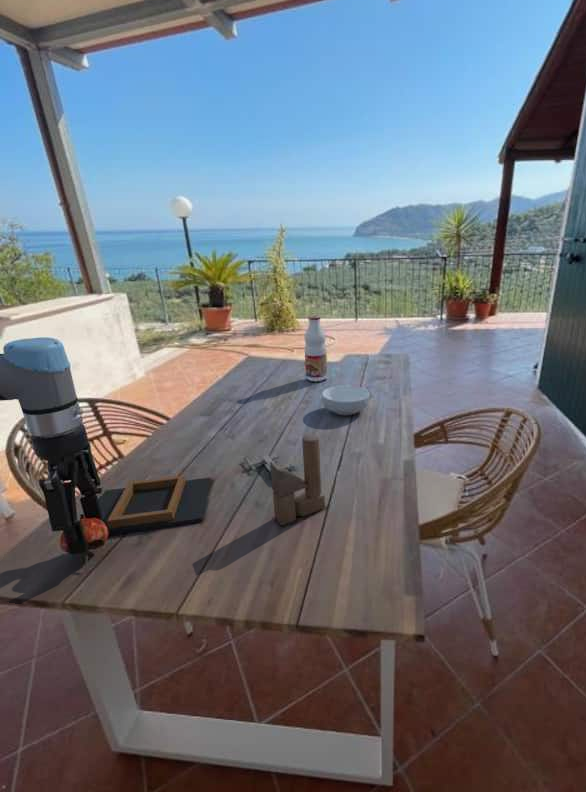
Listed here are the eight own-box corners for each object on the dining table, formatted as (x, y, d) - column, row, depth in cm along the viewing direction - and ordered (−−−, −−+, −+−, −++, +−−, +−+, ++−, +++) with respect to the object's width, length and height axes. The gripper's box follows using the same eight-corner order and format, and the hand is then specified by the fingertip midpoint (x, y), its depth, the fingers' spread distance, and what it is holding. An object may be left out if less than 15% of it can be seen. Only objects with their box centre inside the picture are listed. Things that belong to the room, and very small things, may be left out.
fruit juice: (330, 380, 171) (328, 317, 161) (310, 384, 167) (307, 319, 157) (322, 374, 178) (320, 313, 169) (303, 377, 175) (299, 315, 165)
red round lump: (115, 562, 75) (114, 512, 80) (99, 555, 69) (99, 501, 74) (71, 576, 73) (73, 523, 78) (50, 569, 67) (54, 513, 72)
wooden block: (274, 517, 85) (267, 444, 79) (317, 500, 91) (314, 431, 85) (281, 527, 82) (275, 452, 76) (325, 508, 88) (322, 437, 82)
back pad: (76, 540, 79) (73, 528, 78) (106, 493, 93) (103, 483, 92) (202, 521, 84) (200, 510, 83) (211, 480, 99) (209, 470, 98)
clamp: (300, 468, 100) (262, 481, 94) (300, 476, 100) (263, 489, 95) (277, 445, 111) (242, 455, 106) (277, 452, 112) (243, 462, 107)
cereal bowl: (379, 410, 140) (379, 392, 137) (346, 425, 129) (345, 405, 126) (346, 398, 151) (345, 381, 148) (313, 411, 140) (312, 392, 137)
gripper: (54, 455, 58) (89, 574, 66) (103, 405, 76) (126, 503, 84) (-5, 461, 56) (37, 582, 64) (60, 408, 74) (87, 508, 82)
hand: (88, 537), depth 74 cm, fingers closed on red round lump, 7 cm apart
